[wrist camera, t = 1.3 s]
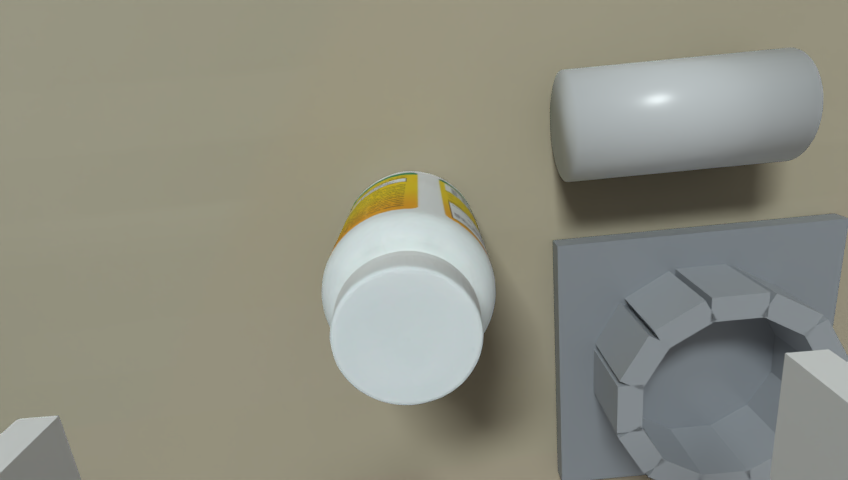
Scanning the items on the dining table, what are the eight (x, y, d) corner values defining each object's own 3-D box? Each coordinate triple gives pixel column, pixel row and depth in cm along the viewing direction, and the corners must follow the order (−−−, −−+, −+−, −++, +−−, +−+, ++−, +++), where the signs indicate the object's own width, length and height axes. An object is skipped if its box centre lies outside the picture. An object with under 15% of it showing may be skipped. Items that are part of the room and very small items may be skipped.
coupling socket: (557, 470, 27) (580, 533, 23) (552, 240, 23) (578, 272, 20) (801, 448, 27) (861, 508, 23) (834, 213, 23) (912, 241, 20)
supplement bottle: (490, 188, 23) (543, 273, 14) (452, 302, 24) (477, 447, 15) (363, 152, 22) (330, 215, 13) (333, 272, 24) (284, 403, 15)
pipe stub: (550, 171, 22) (579, 193, 19) (548, 69, 21) (578, 70, 17) (746, 152, 22) (815, 170, 19) (755, 49, 21) (830, 45, 17)
